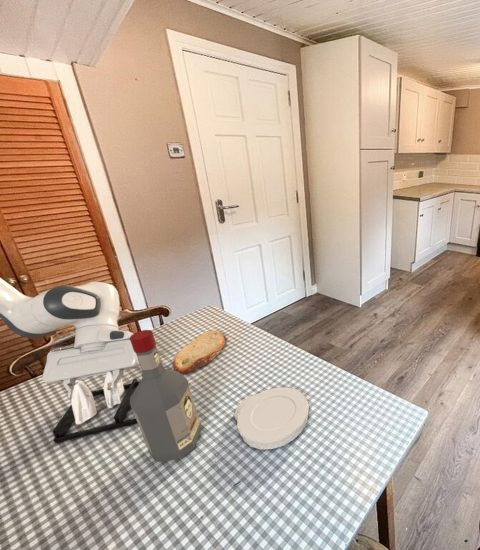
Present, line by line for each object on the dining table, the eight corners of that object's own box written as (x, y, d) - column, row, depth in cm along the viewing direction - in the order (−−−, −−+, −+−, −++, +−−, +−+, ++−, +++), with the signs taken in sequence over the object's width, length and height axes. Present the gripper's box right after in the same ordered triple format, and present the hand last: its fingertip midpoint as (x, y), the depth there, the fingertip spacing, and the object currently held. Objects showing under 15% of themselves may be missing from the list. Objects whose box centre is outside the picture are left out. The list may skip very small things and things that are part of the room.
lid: (265, 384, 88) (264, 376, 87) (322, 408, 80) (322, 399, 79) (215, 430, 74) (212, 421, 73) (278, 464, 66) (276, 454, 65)
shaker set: (80, 430, 74) (62, 395, 70) (71, 425, 76) (53, 391, 72) (131, 397, 84) (119, 364, 80) (122, 392, 86) (109, 361, 82)
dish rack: (55, 443, 71) (49, 434, 70) (87, 395, 85) (83, 387, 84) (148, 421, 77) (144, 412, 76) (163, 379, 91) (161, 371, 90)
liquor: (146, 465, 66) (99, 351, 55) (165, 430, 74) (128, 324, 63) (191, 458, 67) (154, 346, 56) (205, 425, 76) (175, 321, 64)
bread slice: (219, 332, 115) (217, 323, 113) (237, 353, 103) (235, 344, 101) (164, 351, 104) (161, 342, 102) (177, 378, 91) (174, 368, 90)
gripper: (39, 346, 76) (31, 404, 71) (135, 330, 82) (134, 382, 77) (56, 350, 82) (50, 404, 77) (145, 335, 88) (144, 384, 83)
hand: (93, 393), depth 77 cm, fingers closed on shaker set, 7 cm apart
